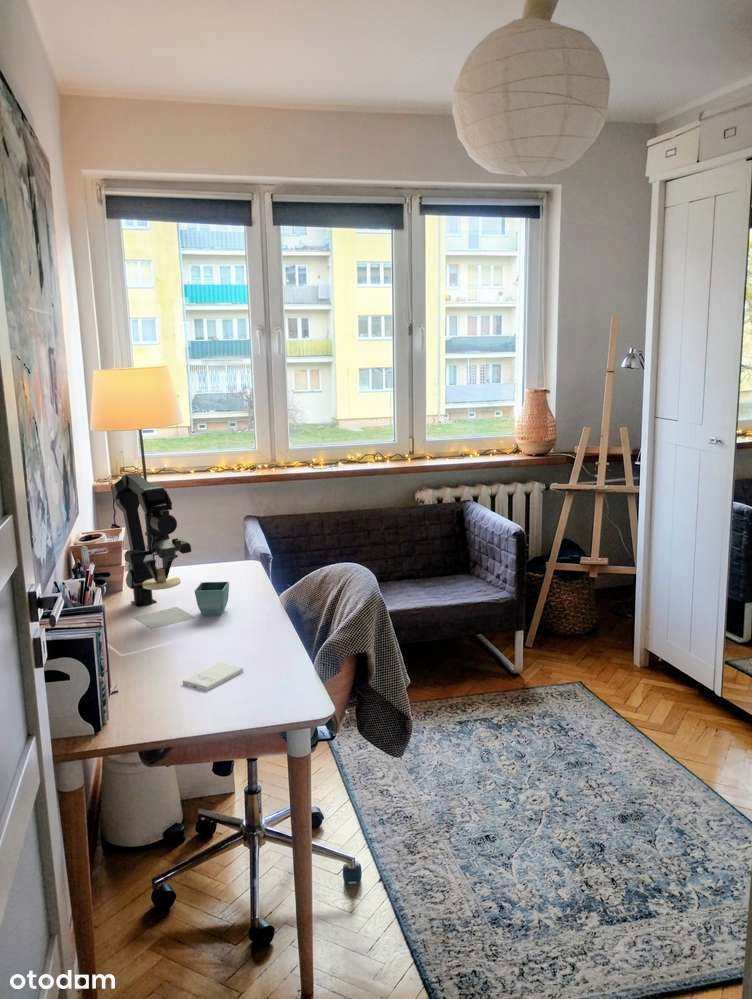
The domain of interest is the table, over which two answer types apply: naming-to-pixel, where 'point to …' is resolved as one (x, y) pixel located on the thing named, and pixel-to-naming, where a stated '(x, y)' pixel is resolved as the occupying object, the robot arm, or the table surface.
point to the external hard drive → (213, 676)
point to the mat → (164, 617)
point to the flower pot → (212, 597)
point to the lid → (161, 581)
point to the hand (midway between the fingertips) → (161, 579)
